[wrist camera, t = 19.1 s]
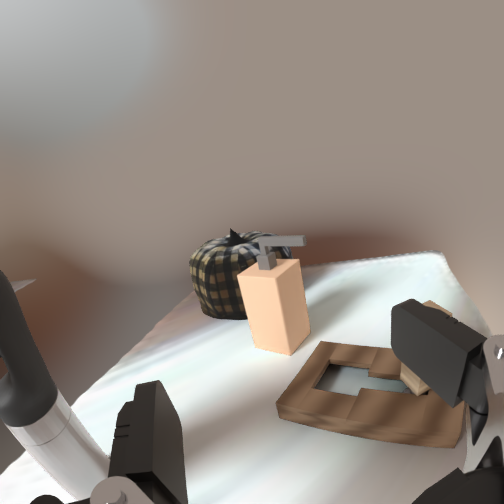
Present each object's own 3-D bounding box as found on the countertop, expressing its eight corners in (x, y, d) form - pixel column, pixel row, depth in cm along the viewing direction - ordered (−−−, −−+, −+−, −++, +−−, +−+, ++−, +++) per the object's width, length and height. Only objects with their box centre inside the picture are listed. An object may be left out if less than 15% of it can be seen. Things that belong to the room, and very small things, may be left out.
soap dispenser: (254, 347, 60) (228, 245, 54) (276, 326, 66) (256, 230, 60) (310, 359, 52) (291, 244, 46) (329, 334, 59) (314, 228, 52)
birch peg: (412, 420, 32) (425, 330, 28) (394, 399, 37) (399, 311, 33) (440, 403, 33) (456, 313, 29) (421, 385, 38) (430, 297, 34)
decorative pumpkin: (314, 274, 90) (302, 209, 84) (270, 328, 66) (251, 242, 61) (233, 274, 105) (219, 218, 100) (177, 316, 82) (155, 248, 77)
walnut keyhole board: (279, 417, 40) (275, 402, 39) (322, 356, 52) (320, 341, 51) (453, 448, 25) (460, 432, 24) (463, 369, 37) (466, 352, 36)
